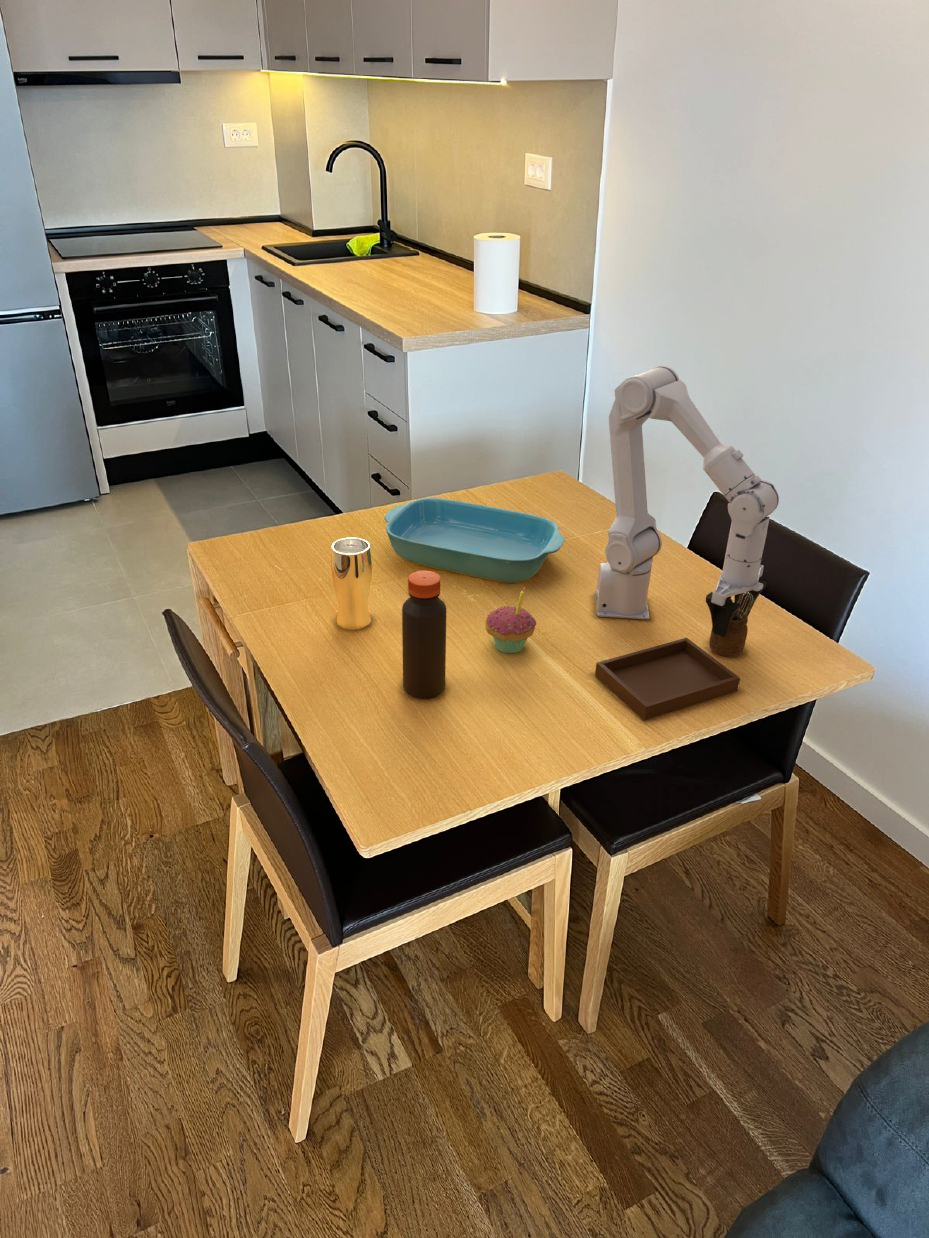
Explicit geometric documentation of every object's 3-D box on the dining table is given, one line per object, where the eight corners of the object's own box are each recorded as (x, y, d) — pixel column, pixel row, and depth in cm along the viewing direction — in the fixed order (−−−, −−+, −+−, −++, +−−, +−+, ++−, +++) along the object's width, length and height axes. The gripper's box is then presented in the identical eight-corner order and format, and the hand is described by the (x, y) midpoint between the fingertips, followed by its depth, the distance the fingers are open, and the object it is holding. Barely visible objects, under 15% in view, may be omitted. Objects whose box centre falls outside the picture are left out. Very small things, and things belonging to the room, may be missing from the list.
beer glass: (380, 616, 169) (378, 542, 162) (360, 635, 164) (357, 558, 156) (347, 608, 172) (343, 533, 164) (326, 625, 166) (322, 549, 159)
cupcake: (539, 639, 164) (544, 578, 158) (526, 664, 157) (530, 602, 151) (492, 629, 167) (495, 570, 160) (477, 654, 160) (479, 592, 153)
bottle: (417, 671, 155) (417, 563, 144) (453, 683, 152) (455, 574, 142) (394, 691, 150) (392, 581, 139) (430, 704, 147) (431, 593, 136)
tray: (644, 720, 145) (646, 707, 143) (594, 675, 155) (596, 662, 154) (737, 691, 152) (740, 677, 151) (684, 650, 162) (686, 637, 161)
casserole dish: (573, 550, 195) (576, 518, 191) (544, 599, 177) (547, 565, 173) (409, 520, 205) (409, 490, 201) (366, 564, 187) (365, 532, 183)
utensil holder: (749, 656, 161) (762, 595, 155) (715, 659, 160) (727, 598, 154) (734, 638, 166) (746, 578, 160) (701, 641, 165) (712, 581, 159)
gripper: (746, 577, 147) (731, 651, 154) (785, 547, 156) (770, 618, 163) (705, 563, 151) (693, 635, 157) (746, 535, 160) (733, 604, 167)
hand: (729, 625), depth 161 cm, fingers open, 7 cm apart
